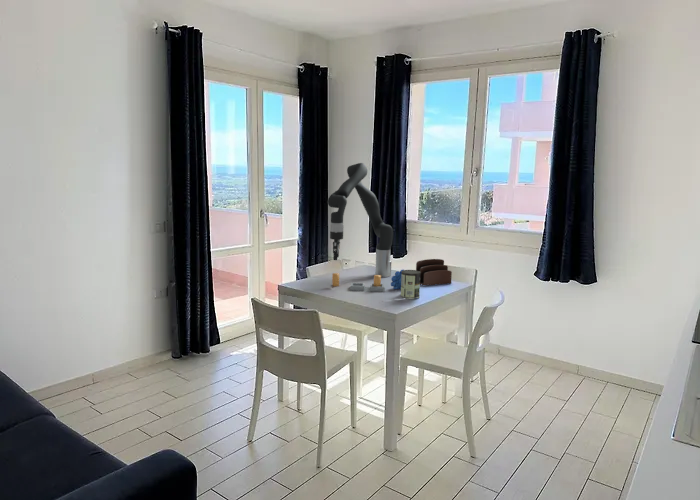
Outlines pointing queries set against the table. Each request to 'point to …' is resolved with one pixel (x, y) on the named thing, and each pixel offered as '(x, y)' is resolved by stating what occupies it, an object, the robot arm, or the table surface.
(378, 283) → the seated jaw peg
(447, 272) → the letter holder
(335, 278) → the loose jaw peg
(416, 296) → the coffee can
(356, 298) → the table surface
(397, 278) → the grapes
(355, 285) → the grey peg socket base
